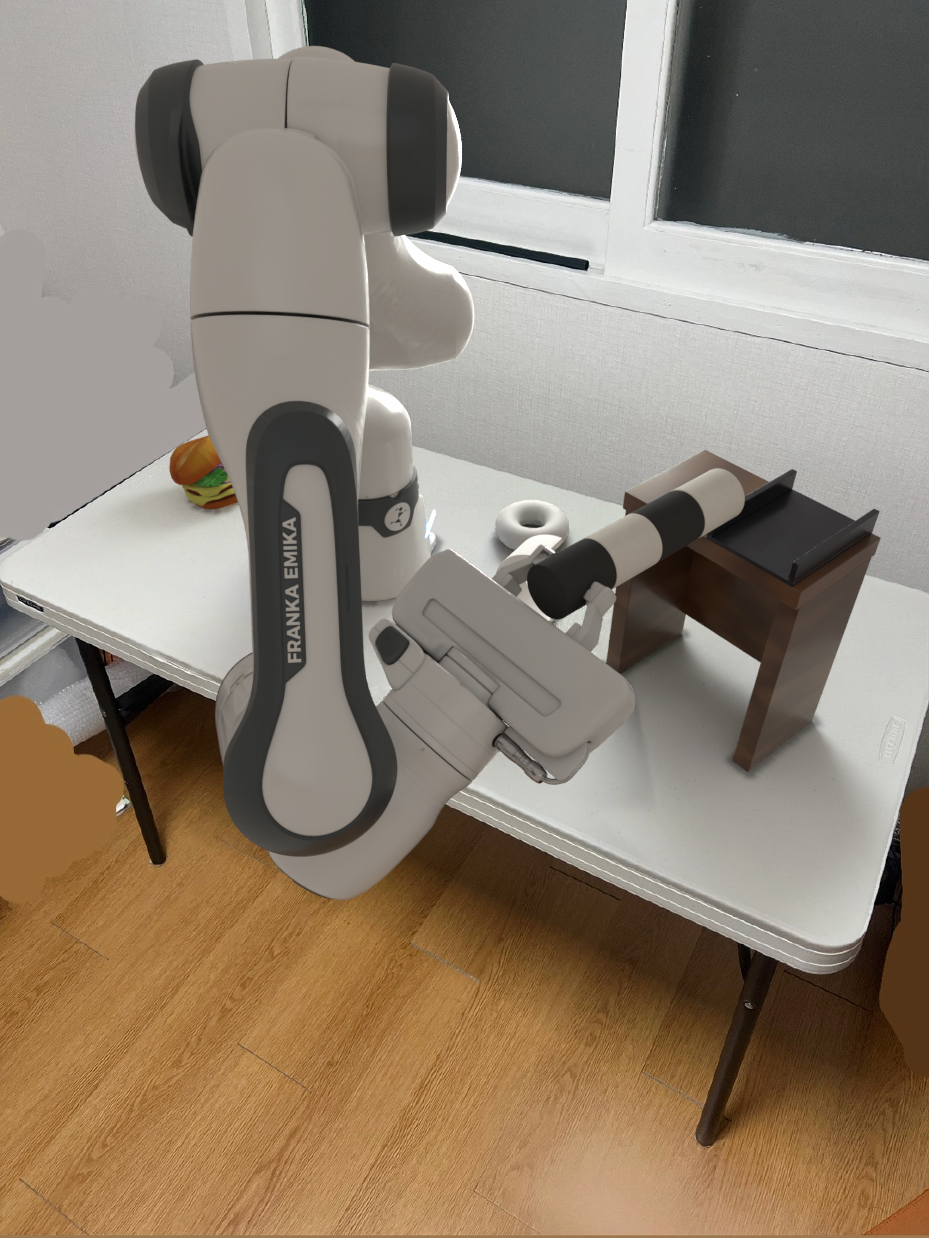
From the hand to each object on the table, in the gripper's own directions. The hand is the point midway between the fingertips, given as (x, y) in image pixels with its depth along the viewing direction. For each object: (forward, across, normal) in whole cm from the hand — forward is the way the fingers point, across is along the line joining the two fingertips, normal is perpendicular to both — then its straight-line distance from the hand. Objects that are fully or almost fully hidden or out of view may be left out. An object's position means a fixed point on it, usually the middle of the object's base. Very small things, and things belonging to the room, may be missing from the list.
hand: (578, 569), depth 66 cm
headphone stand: (0, +24, +36) cm, 43 cm away
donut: (+10, +36, +42) cm, 56 cm away
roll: (+4, 0, +6) cm, 7 cm away
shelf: (+6, +2, +39) cm, 39 cm away
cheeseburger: (-14, +73, +28) cm, 79 cm away
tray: (+18, -3, +18) cm, 26 cm away
